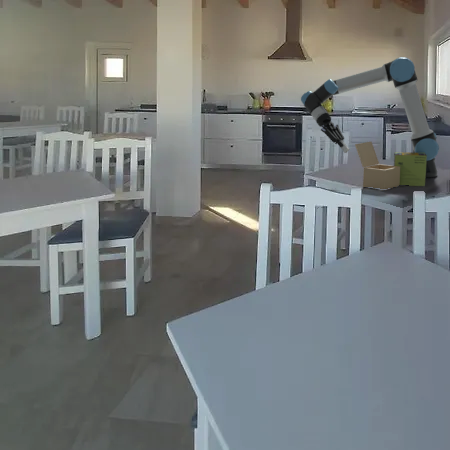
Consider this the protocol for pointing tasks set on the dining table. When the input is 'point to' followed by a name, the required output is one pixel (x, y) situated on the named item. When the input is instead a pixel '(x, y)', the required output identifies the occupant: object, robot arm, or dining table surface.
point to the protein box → (411, 168)
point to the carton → (381, 176)
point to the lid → (367, 154)
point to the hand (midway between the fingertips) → (347, 151)
